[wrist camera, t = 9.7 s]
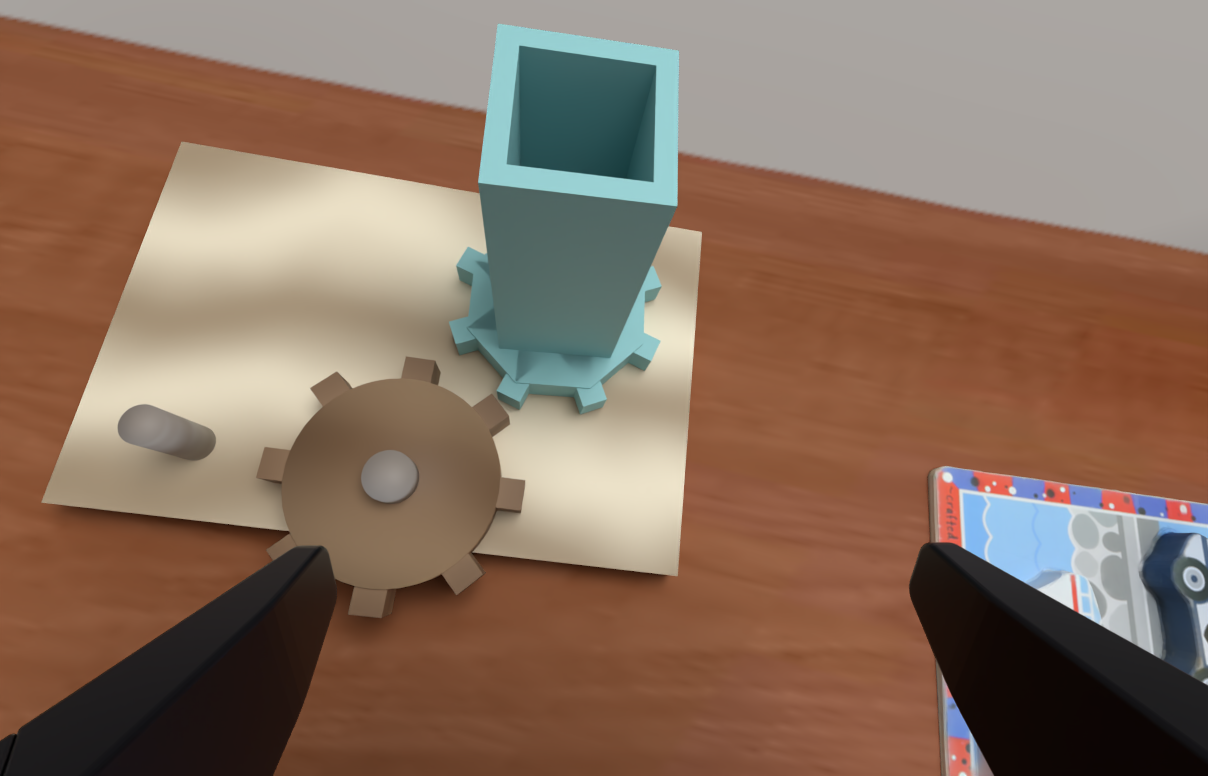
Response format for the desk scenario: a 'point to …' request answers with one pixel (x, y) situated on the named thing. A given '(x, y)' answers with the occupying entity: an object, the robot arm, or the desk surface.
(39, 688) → the desk surface
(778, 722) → the desk surface
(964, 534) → the puzzle board
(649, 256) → the teal gear
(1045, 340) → the desk surface
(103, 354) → the gear board
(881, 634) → the desk surface
